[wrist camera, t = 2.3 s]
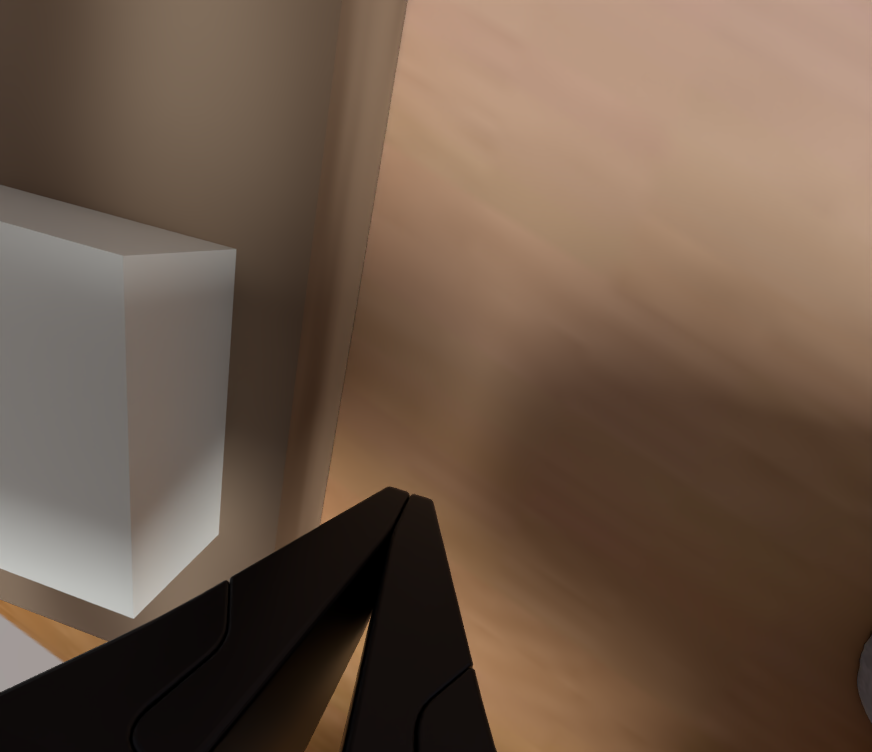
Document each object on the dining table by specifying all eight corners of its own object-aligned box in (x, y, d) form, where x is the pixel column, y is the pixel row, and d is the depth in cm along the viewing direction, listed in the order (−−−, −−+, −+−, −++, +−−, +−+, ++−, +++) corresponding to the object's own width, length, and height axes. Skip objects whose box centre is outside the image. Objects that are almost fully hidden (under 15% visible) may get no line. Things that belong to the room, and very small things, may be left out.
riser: (408, -7, 9) (356, -116, 6) (305, 612, 15) (256, 698, 12) (-39, -95, 10) (-255, -221, 7) (37, 516, 16) (-62, 575, 14)
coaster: (236, 248, 8) (122, 256, 6) (218, 534, 11) (133, 618, 8) (-111, 154, 9) (-331, 127, 7) (-53, 440, 11) (-199, 493, 9)
